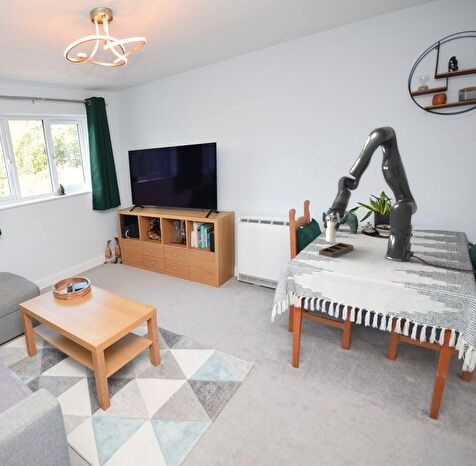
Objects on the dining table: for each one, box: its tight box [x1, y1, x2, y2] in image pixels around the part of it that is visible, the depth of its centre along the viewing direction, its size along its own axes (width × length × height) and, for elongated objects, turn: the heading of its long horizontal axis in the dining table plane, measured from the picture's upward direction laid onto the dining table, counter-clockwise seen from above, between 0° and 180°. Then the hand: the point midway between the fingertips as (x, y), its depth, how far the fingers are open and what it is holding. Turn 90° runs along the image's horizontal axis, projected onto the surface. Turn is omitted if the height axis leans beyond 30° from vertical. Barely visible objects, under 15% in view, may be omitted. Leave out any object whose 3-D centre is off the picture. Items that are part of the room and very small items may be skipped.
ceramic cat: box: [326, 207, 359, 235], centre depth 228 cm, size 20×6×20 cm, turn 37°
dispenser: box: [325, 215, 337, 243], centre depth 185 cm, size 5×5×16 cm
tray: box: [318, 242, 354, 258], centre depth 192 cm, size 8×23×3 cm, turn 118°
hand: (330, 228), depth 184 cm, fingers closed on dispenser, 5 cm apart
